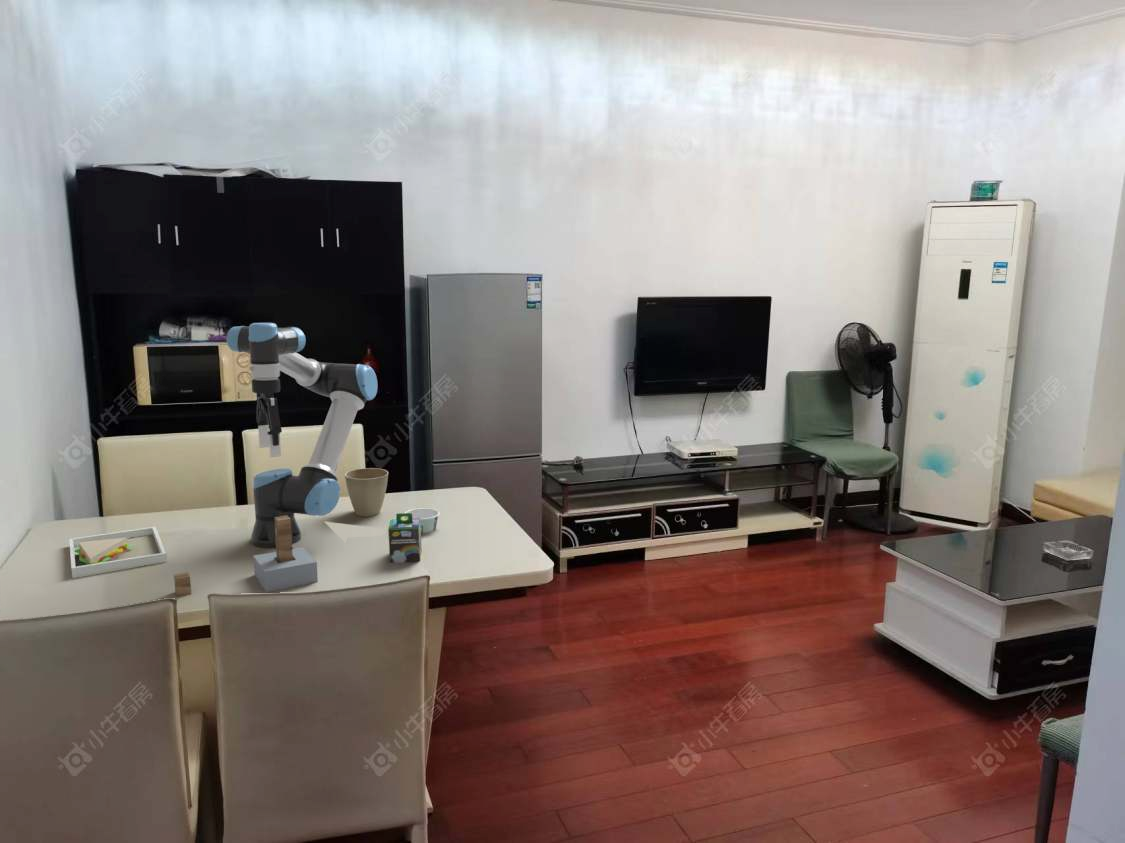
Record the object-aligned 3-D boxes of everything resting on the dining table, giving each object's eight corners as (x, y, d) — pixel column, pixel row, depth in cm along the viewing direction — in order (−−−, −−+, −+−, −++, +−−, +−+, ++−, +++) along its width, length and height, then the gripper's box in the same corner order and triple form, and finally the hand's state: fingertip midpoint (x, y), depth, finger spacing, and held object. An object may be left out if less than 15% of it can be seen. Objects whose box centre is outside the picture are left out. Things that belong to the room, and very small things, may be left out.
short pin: (175, 592, 215) (173, 574, 214) (189, 589, 216) (188, 572, 215) (177, 596, 212) (175, 579, 211) (191, 594, 213) (189, 576, 212)
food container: (443, 527, 271) (443, 508, 270) (434, 538, 260) (434, 519, 258) (409, 525, 273) (409, 507, 271) (399, 537, 261) (398, 518, 260)
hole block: (254, 575, 226) (253, 555, 225) (304, 566, 234) (303, 547, 233) (265, 592, 215) (264, 571, 214) (317, 582, 222) (316, 561, 221)
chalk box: (421, 553, 246) (420, 507, 244) (420, 563, 237) (419, 516, 235) (391, 554, 245) (390, 508, 242) (389, 564, 236) (387, 517, 233)
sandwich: (51, 577, 225) (49, 560, 224) (83, 553, 244) (81, 537, 243) (109, 575, 227) (107, 558, 226) (136, 551, 246) (134, 536, 245)
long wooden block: (277, 578, 225) (274, 517, 222) (290, 575, 227) (287, 515, 223) (281, 582, 222) (277, 520, 219) (293, 579, 224) (290, 518, 221)
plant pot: (338, 520, 277) (336, 476, 274) (360, 508, 291) (359, 466, 288) (376, 525, 272) (374, 480, 269) (397, 512, 286) (396, 470, 283)
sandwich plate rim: (70, 548, 247) (69, 538, 246) (156, 535, 259) (155, 526, 259) (72, 578, 223) (71, 568, 222) (167, 562, 235) (166, 553, 235)
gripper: (242, 373, 231) (247, 444, 235) (261, 384, 211) (266, 462, 215) (269, 372, 235) (273, 442, 239) (290, 382, 215) (294, 459, 219)
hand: (270, 451), depth 227 cm, fingers open, 13 cm apart
